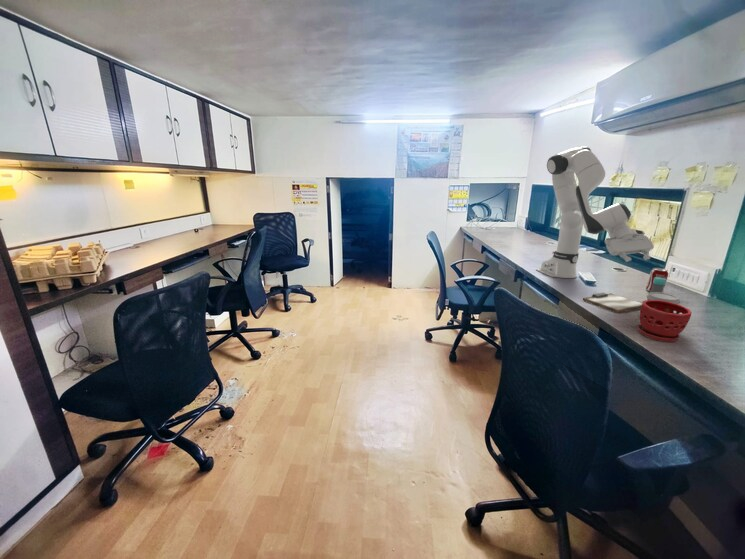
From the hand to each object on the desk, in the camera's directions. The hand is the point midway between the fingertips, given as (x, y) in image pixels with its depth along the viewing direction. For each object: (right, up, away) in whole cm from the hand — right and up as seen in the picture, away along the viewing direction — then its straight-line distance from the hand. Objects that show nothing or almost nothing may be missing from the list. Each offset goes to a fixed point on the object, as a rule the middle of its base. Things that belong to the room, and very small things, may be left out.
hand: (638, 260), depth 145 cm
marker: (+2, -21, -4) cm, 22 cm away
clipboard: (-12, -20, -1) cm, 24 cm away
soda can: (+21, -16, +15) cm, 30 cm away
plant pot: (-20, -30, -31) cm, 47 cm away
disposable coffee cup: (-12, -27, -21) cm, 36 cm away
